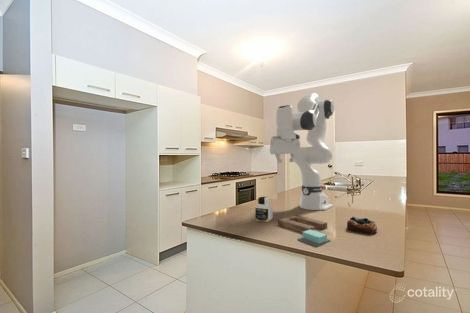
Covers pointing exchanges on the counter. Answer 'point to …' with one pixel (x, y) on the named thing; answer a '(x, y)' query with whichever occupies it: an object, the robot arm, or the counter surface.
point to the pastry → (362, 225)
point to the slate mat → (312, 241)
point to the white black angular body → (263, 210)
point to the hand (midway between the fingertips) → (285, 162)
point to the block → (314, 236)
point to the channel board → (302, 223)
